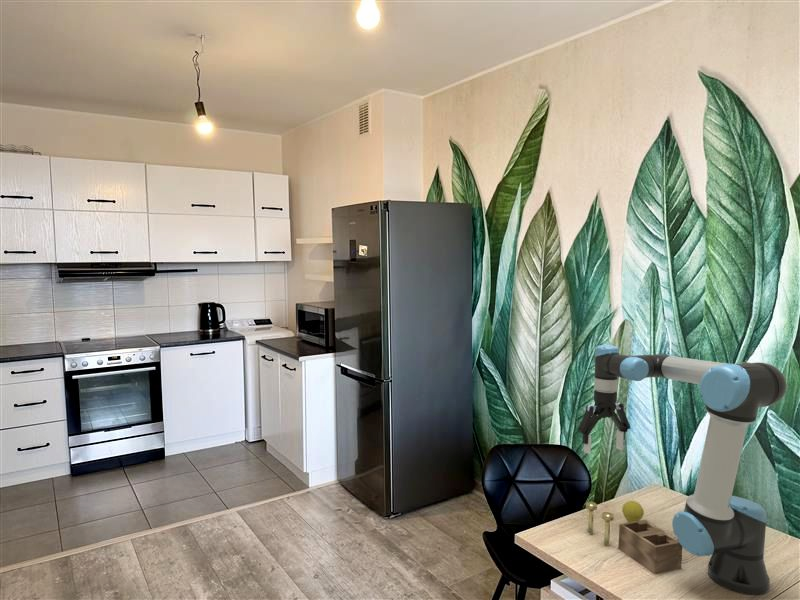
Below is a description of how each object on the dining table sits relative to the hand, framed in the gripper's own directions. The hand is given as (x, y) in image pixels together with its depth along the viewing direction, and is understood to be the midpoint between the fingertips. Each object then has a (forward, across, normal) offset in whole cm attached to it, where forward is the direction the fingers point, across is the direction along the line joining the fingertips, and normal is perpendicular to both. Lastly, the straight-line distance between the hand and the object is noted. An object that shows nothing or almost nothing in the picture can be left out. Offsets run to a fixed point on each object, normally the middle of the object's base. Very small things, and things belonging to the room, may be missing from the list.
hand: (603, 451), depth 192 cm
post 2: (+25, +9, +14) cm, 30 cm away
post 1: (+25, +9, +6) cm, 27 cm away
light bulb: (+25, -6, +8) cm, 27 cm away
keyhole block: (+25, +2, +24) cm, 35 cm away
